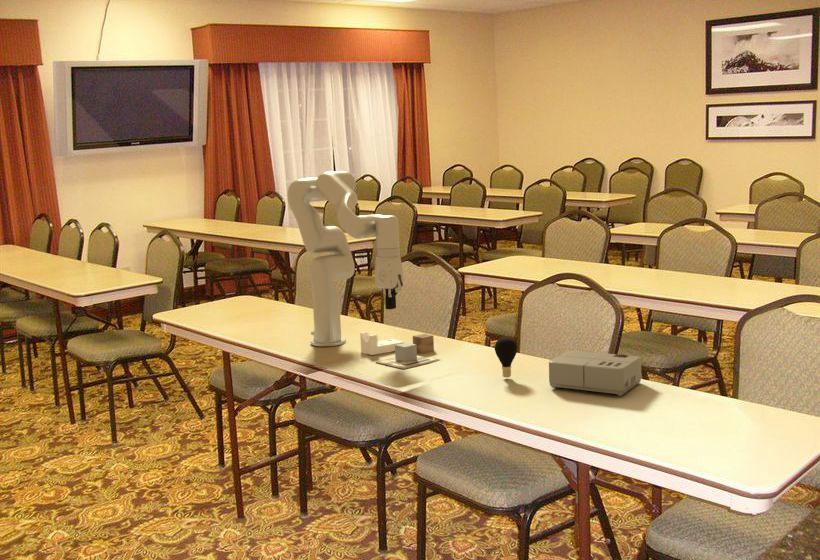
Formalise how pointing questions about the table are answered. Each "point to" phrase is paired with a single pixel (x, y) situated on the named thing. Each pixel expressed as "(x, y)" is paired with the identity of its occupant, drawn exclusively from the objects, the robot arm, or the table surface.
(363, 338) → the bracket
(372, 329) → the table surface
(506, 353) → the light bulb
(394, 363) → the brown white flat panel
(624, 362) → the projector
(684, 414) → the table surface
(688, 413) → the table surface
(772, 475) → the table surface
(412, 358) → the block
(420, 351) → the walnut block
